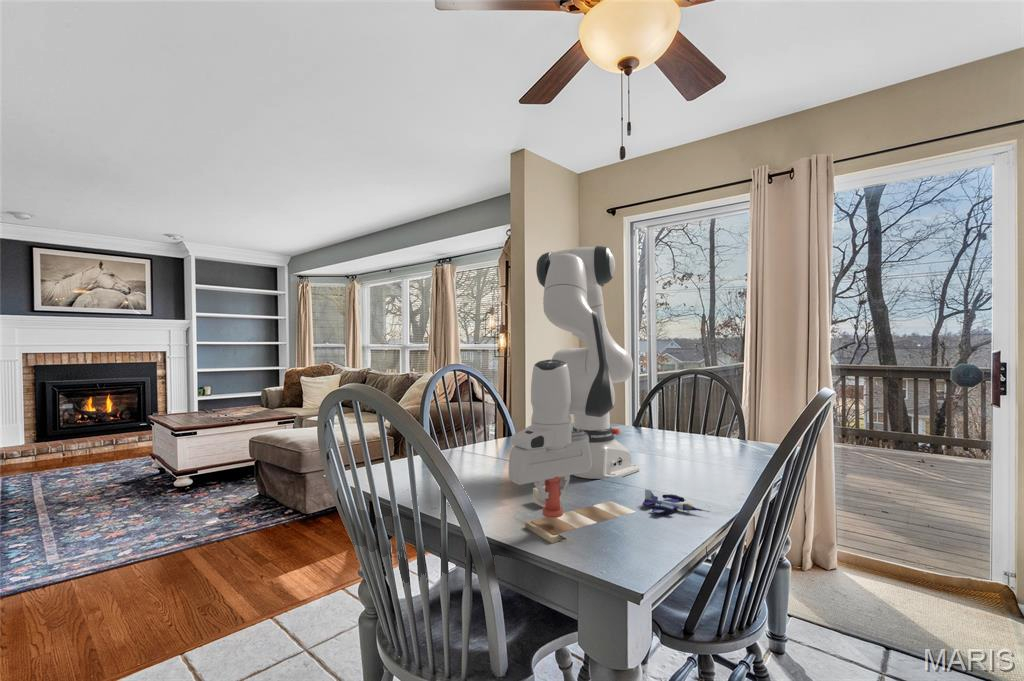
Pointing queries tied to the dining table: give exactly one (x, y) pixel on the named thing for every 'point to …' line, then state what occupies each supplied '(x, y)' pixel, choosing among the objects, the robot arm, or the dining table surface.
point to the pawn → (553, 499)
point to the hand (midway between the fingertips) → (552, 497)
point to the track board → (575, 520)
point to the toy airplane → (668, 503)
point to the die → (536, 497)
